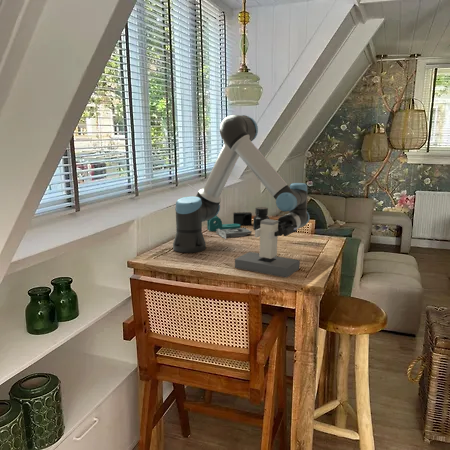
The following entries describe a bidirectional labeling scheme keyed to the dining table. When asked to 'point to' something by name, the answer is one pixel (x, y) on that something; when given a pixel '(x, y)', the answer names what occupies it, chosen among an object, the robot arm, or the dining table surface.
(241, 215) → the digital camera
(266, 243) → the plug
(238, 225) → the bracket
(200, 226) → the robot arm
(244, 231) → the graphics card
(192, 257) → the dining table surface
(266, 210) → the ink bottle
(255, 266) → the plate with square hole
